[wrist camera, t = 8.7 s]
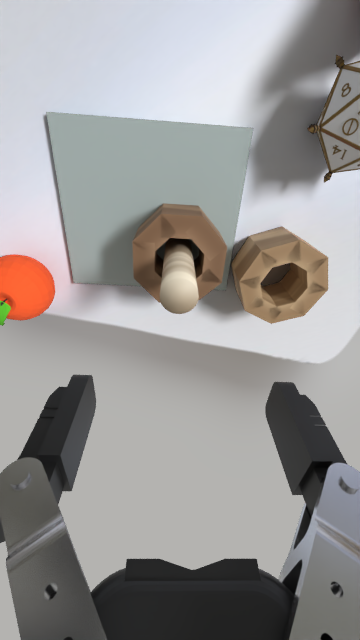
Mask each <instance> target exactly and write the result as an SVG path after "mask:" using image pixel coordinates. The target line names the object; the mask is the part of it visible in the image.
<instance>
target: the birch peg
mask: <svg viewBox="0 0 360 640" xmlns="http://www.w3.org/2000/svg"><path fill="white" fill-rule="evenodd" d="M198 298H199V295H198V288H197V281H196V275H195V268H194V261H193V255H192V248H191V243H190V241H189V239H180V238H169V239H168V240H167V242H166V246H165V255H164V263H163V272H162V280H161V289H160V301H161V304H162V305H163V307H164V308H165V309H166V310H168V311H170V312H172V313H176V314H182V313H186V312H189V311H190V310H192V309H193V308H194V307H195V306H196V304H197V302H198Z"/></svg>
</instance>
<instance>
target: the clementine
mask: <svg viewBox="0 0 360 640" xmlns="http://www.w3.org/2000/svg"><path fill="white" fill-rule="evenodd" d="M54 295H55V286H54V280H53V277H52V275H51V273H50V272H49V271H48V269H47V268H46V267H45V266H44V265H43V264H42V263H40V262H39V261H37V260H35V259H33V258H31V257H28V256H22V255H6V256H3V257H0V325H2V326H3V325H4V321H5V319H6V318H8V319H13V320H27V319H31V318H34V317H36V316H39V315H40V314H42V313H43V312H44V311H45V310H46V309H48V308H49V306H50V304H51V303H52V301H53V299H54Z"/></svg>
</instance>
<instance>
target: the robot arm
mask: <svg viewBox="0 0 360 640" xmlns="http://www.w3.org/2000/svg"><path fill="white" fill-rule="evenodd" d="M95 408H96V398H95V391H94V384H93V377H92V376H91V375H73V376H72V377H71V380H70V382H69V384H68V386H67V387H59V388H57V389H56V390H55V391H54V392H53V393H52V394H51V395H50V397H49V398H48V400H47V402H46V404H45V406H44V410H42V413H41V414H40V418H39V419H38V421H37V423H36V425H35V427H34V429H33V431H32V433H31V435H30V437H29V439H28V441H27V443H26V445H25V447H24V449H23V451H22V453H21V455H20V457H19V458H18V459H17V461H15V462H13V463H11V464H10V465H8V466H7V467H6V468H5V469H4V470H3V471H2V472H1V473H0V543H1V542H4V541H6V546H7V551H8V557H7V559H6V566H7V573H8V578H9V583H10V588H11V593H12V598H13V603H14V607H15V612H16V618H17V623H18V627H19V632H20V637H21V640H360V472H359V471H358V470H356V469H355V468H353V467H352V466H350V465H348V464H347V463H346V461H345V460H344V458H343V456H342V454H341V452H340V450H339V448H338V447H337V445H336V443H335V441H334V440H333V437H332V435H331V434H330V432H329V430H328V428H327V427H326V426H325V425H326V424H325V423H324V421H323V419H322V418H321V415H320V413H319V412H318V410H317V408H316V406H315V404H314V403H313V402H312V401H311V400H310V399H309V398H308V397H307V396H306V395H300V394H299V392H298V390H297V388H296V386H295V385H294V383H291V382H274V384H273V386H272V389H271V392H270V395H269V397H268V400H267V403H266V418H267V421H268V424H269V427H270V430H271V433H272V436H273V439H274V442H275V445H276V448H277V451H278V454H279V457H280V460H281V463H282V465H283V468H284V471H285V474H286V477H287V480H288V483H289V486H290V489H291V492H292V495H303V497H304V500H305V504H304V507H303V510H302V513H301V516H300V519H299V523H298V526H297V529H296V533H295V536H294V539H293V542H292V546H291V549H290V552H289V554H288V557H287V559H286V561H285V563H284V565H283V568H282V570H281V573H280V576H279V579H276V578H275V577H273V576H272V575H270V574H269V573H267V572H265V571H263V570H261V569H258V564H257V559H224V560H221V561H218V562H215V563H213V564H210V565H207V566H204V567H202V568H199V569H196V570H190V569H187V568H184V567H181V566H178V565H175V564H172V563H169V562H167V561H164V560H161V559H127V562H126V568H124V569H122V570H119V571H117V572H115V573H113V574H112V575H110V576H109V577H107V578H106V579H104V580H103V581H102V582H101V583H100V584H99V585H97V586H96V587H95V588H94V589H93V591H92V592H90V589H89V586H88V584H87V581H86V578H85V576H84V573H83V571H82V568H81V565H80V562H79V560H78V557H77V554H76V552H75V549H74V547H73V544H72V541H71V539H70V536H69V533H68V530H67V528H66V525H65V522H64V520H63V517H62V514H61V512H60V509H59V507H58V503H59V500H60V497H61V494H62V491H72V488H73V484H74V481H75V477H76V474H77V471H78V467H79V464H80V461H81V457H82V454H83V450H84V447H85V444H86V440H87V437H88V433H89V430H90V427H91V423H92V420H93V417H94V413H95Z"/></svg>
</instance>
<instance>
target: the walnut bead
mask: <svg viewBox="0 0 360 640" xmlns="http://www.w3.org/2000/svg"><path fill="white" fill-rule="evenodd" d="M169 238H180V239H192V241H193V242H194V243H195V244H196V245H197V246H198V248H199V256H198V257H197V258H196V259H195V260H193V261H194V268H195V275H196V281H197V288H198V295H199V298H198V300H200V299H201V298H202V297H204V296H205V295H206V294H208V293H209V292H210V291H212V290H213V289H214V288H216V287H217V286H218V285H219V284H221V283H222V278H223V272H224V265H225V259H226V253H227V245H226V243H225V241H224V240H223V238H222V236H221V234H220V232H219V231H218V230H217V228H216V227H215V226H214V224H213V223H212V222H211V221H210V219H209V218H208V217H207V216H206V214H205V213H204V212H203V211H202V209H201V208H200V207H199V206H196V205H181V204H165V203H163V204H162V205H161V206H160V207H159V208H158V209H157V210H156V211H155V212H154V213H153V214H152V215H151V216H150V217H149V218H148V219H147V220H146V221H145V222H144V223H143V224H142V225H141V226H140V227H139V228H138V230H137V232H136V235H135V237H134V239H133V241H132V245H133V276H134V279H135V280H136V281H137V282H138V283H139V284H140V285H141V286H142V287H143V288H144V289H145V290H147V291H148V292H149V293H150V294H151V295H152V296H153V297H154V298H155V299H156V300H157V301H158V302H161V301H160V289H161V280H162V272H163V263H164V260H163V259H162V258H161V257H160V256H159V255H158V254H157V249H158V248H159V247H161V246H162V245H163V244H164V243H165V242H166V241H167V240H168V239H169Z"/></svg>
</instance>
